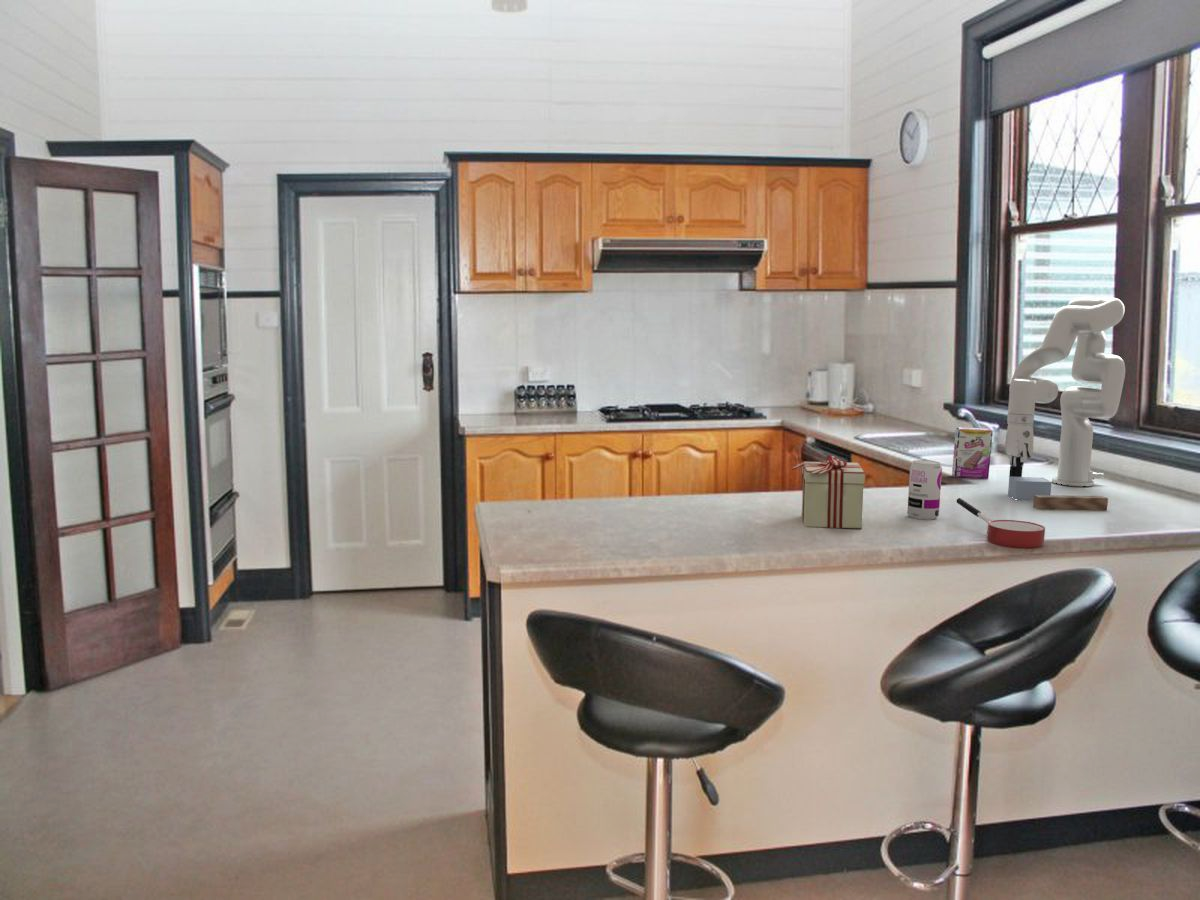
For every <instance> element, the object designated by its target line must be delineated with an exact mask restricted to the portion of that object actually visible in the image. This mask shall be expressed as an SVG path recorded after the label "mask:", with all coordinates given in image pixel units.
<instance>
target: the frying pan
mask: <svg viewBox="0 0 1200 900" xmlns="http://www.w3.org/2000/svg"><path fill="white" fill-rule="evenodd" d="M956 504H958V505H959V506H961V507H963V509H965V510H967V511H968V512H970V513H971V514H973V515H974V516H975V517H978V518H980V519H982V520H983V521H984V522H986V523H987V533H986V540H987V541H988V542H989V543H990V544H993V545H996V546H1001V547H1006V548H1012V549H1014V548H1015V549H1038V548H1041V547H1043V546H1044V544H1045V533H1046V527H1045V526H1044V525H1042V524H1038V523H1035V522H1031V521H1023V520H1017V519H1016V520H1015V519H996V520H993V519H990V518H989V517H988V516H986V515H985V514H983V513H982V512H981V510H979V509H977V508H976V507H974V506H973V505H972V504H970V503H968V502H967V501H965V500H964V499H963V498H961V497H959V498H957V499H956Z"/></svg>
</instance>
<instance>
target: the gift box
mask: <svg viewBox="0 0 1200 900" xmlns="http://www.w3.org/2000/svg"><path fill="white" fill-rule="evenodd" d="M827 459H828V460H824V461H802V462H801V463H798V464H796V465H795V466H793V467H791V468H790V470H792V471H793V470H797V469H798V468H800V467H801V474H802V492H801V493H802V495H801V496H802V497H801V499H802V500H801V520H802V522H803V526H804V527H805V528H825V529H826V528H827V529H856V530H857V529H862V528H863V506H864V505H863V503H864V485H865V484H866V483H865V482H866V472H865V470H864V469H863V468H862V467H861V465H860V464H859V462H846V461H842V460H841V459H839V458H837V457H836V456H834V455H831V454H827Z"/></svg>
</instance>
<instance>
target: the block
mask: <svg viewBox="0 0 1200 900" xmlns="http://www.w3.org/2000/svg"><path fill="white" fill-rule="evenodd" d="M1052 483H1053V482H1052V481H1050V480H1049V479H1047V478H1045V477H1039V476H1038V477H1035V476H1033V477H1032V476H1022V477H1011V476H1008V489H1007V490H1008V491H1007V496H1008V495H1010V496H1011V497H1013V498H1014V499H1017V500H1016V501H1023V500H1033V501H1034V495H1052V494H1051V493H1052ZM1010 496H1009V497H1010ZM1011 497H1010V498H1011ZM1013 498H1012V499H1013ZM1014 499H1013V500H1014ZM1033 501H1032V502H1033Z"/></svg>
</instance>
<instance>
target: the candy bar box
mask: <svg viewBox="0 0 1200 900" xmlns="http://www.w3.org/2000/svg"><path fill="white" fill-rule="evenodd" d="M993 432H994V431H993V429H990V428H984V427H983V428H980V427H960V426H958V427H957V426H956V427H955V432H954V433H955V435H954V443H953V445H954V446H953V457H952V458H953V459H952V469H951V475H952V476H953V477H954V478H959V479H963V478H965V479H982V480H985V479H986V480H988V479H989V475H990V462H991V452H992V442H993Z"/></svg>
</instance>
